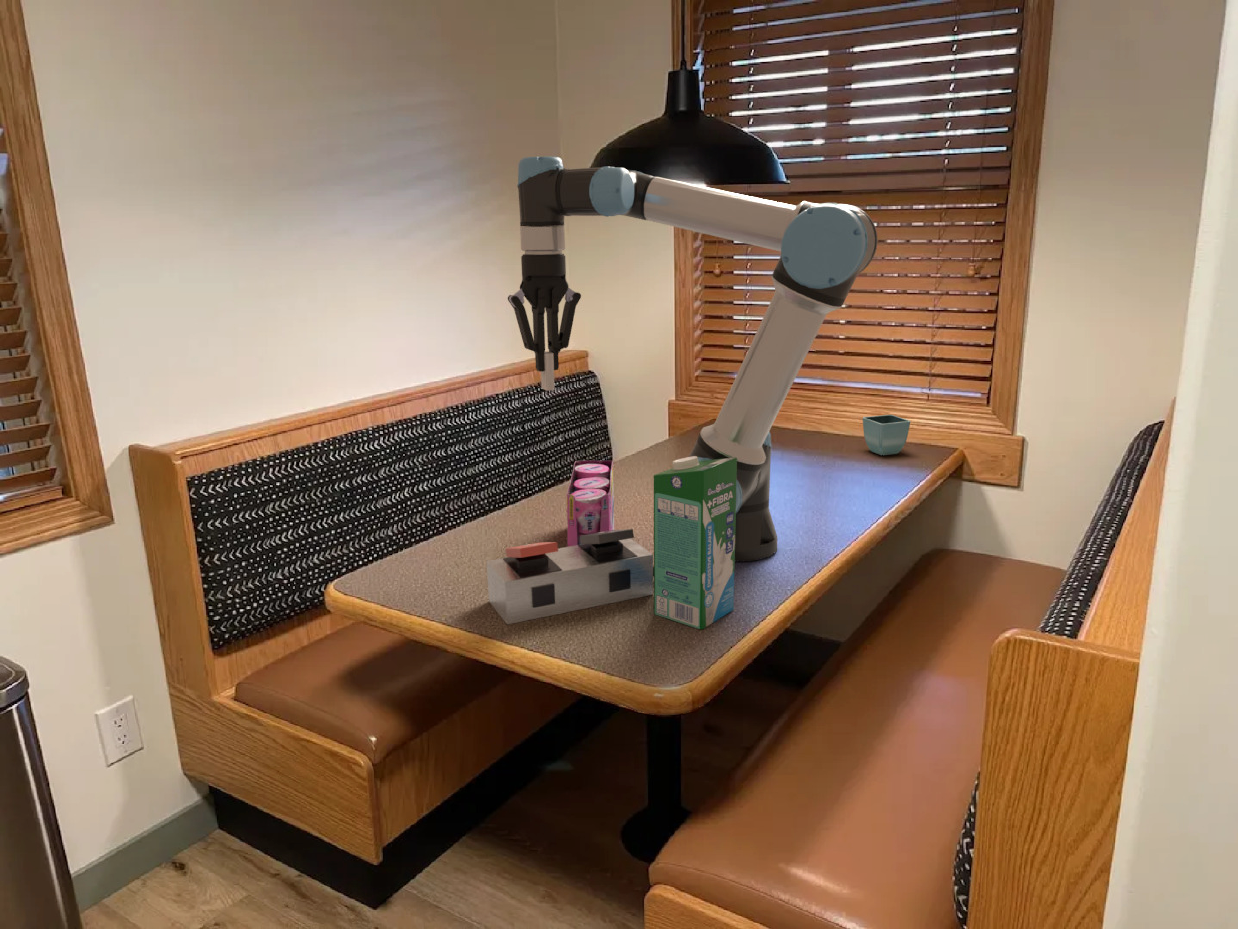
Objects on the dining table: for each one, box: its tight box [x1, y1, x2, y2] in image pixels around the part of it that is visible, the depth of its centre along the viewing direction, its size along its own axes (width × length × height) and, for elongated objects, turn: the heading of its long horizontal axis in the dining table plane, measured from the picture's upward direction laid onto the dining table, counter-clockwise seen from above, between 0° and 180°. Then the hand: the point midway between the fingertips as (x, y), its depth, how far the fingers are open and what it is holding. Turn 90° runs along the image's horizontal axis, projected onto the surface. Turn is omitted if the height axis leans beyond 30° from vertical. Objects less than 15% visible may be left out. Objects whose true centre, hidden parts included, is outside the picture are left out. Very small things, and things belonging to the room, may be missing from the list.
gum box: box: [566, 460, 615, 547], centre depth 168 cm, size 24×8×14 cm, turn 179°
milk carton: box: [653, 456, 737, 631], centre depth 137 cm, size 9×9×25 cm
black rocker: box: [581, 528, 635, 544], centre depth 147 cm, size 6×8×2 cm
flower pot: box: [862, 414, 911, 456], centre depth 230 cm, size 9×9×9 cm
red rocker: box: [505, 541, 559, 558], centre depth 141 cm, size 6×8×2 cm
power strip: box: [486, 538, 654, 625], centre depth 147 cm, size 32×10×8 cm, turn 115°
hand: (548, 388), depth 160 cm, fingers closed
